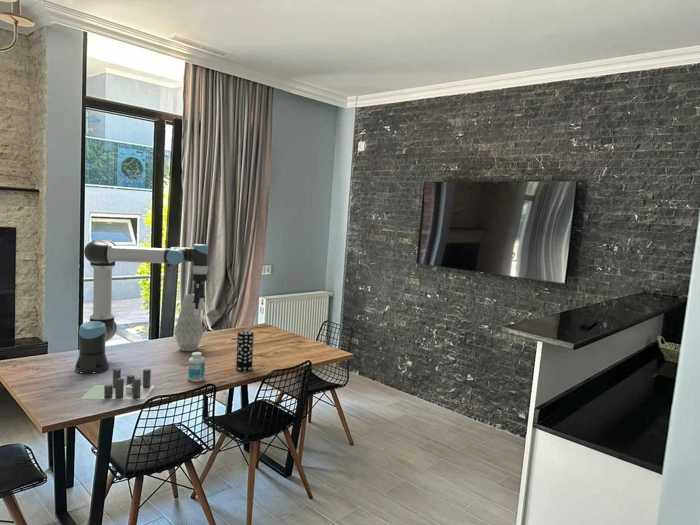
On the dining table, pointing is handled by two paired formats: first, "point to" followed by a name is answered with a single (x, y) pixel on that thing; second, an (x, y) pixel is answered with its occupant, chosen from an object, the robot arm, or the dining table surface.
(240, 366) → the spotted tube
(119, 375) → the spacers
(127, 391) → the nut
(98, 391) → the board
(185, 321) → the vase
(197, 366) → the pill bottle
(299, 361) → the dining table surface
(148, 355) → the dining table surface
